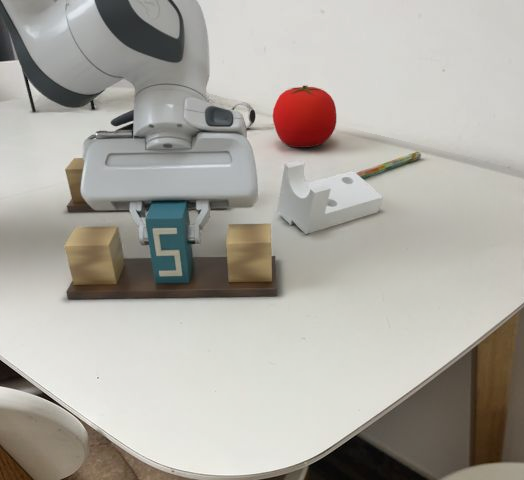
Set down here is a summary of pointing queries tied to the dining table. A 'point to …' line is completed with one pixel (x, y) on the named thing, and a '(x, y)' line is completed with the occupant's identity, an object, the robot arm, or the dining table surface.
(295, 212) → the bracket
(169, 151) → the robot arm
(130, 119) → the can opener
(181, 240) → the letter S tile
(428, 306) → the dining table surface
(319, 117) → the tomato
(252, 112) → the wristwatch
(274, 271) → the board
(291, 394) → the dining table surface
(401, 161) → the pencil
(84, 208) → the board
